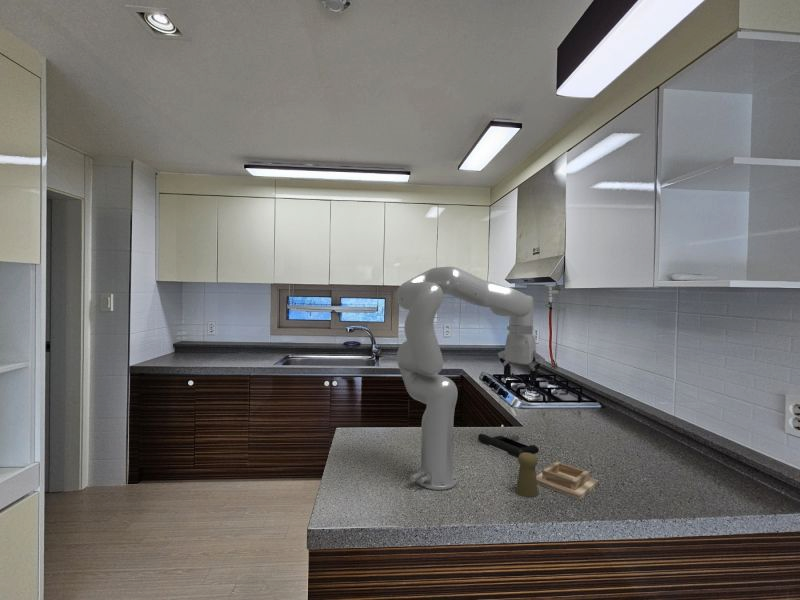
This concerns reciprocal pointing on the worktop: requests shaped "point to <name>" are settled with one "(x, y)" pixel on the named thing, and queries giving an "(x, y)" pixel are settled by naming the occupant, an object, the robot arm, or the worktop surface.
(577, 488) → the holder
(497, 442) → the door handle
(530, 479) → the olive tall rounded piece
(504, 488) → the worktop surface
